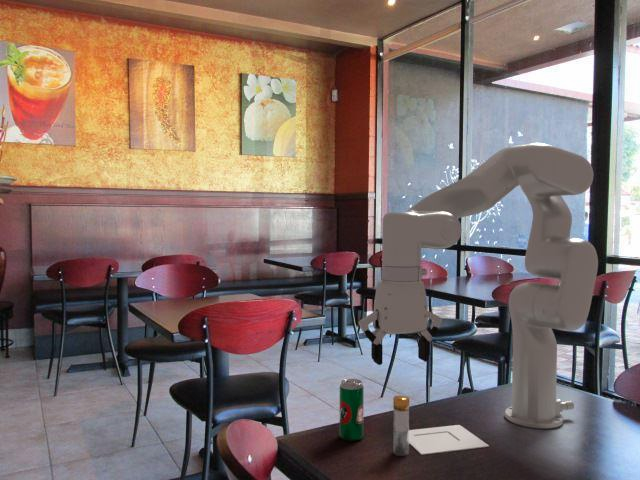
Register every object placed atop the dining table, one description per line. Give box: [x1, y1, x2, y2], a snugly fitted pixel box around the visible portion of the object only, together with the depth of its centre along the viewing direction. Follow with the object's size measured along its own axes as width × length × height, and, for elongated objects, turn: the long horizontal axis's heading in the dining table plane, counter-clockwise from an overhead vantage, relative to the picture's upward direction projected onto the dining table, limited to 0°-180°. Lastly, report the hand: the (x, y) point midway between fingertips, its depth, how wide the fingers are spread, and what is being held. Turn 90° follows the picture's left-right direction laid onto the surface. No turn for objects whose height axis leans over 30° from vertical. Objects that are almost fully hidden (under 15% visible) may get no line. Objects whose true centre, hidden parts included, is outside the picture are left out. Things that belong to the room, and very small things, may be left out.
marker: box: [392, 395, 410, 457], centre depth 111 cm, size 3×3×11 cm
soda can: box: [339, 378, 365, 442], centre depth 119 cm, size 5×5×12 cm
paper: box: [409, 424, 490, 456], centre depth 118 cm, size 15×12×1 cm
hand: (400, 361), depth 110 cm, fingers open, 9 cm apart
